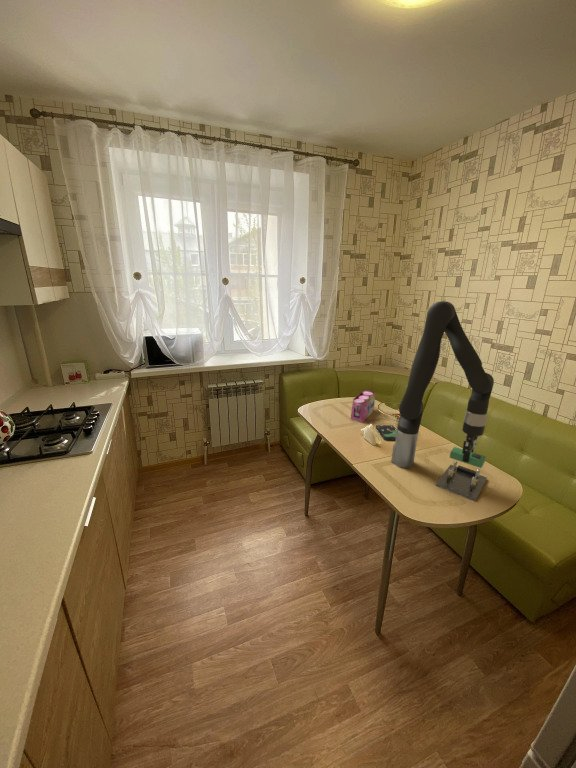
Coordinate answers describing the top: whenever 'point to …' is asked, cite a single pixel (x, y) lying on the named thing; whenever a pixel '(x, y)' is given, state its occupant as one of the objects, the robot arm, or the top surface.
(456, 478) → the chassis
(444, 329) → the robot arm
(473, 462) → the board
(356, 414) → the pink multipack of cans
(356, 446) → the top surface
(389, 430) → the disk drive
